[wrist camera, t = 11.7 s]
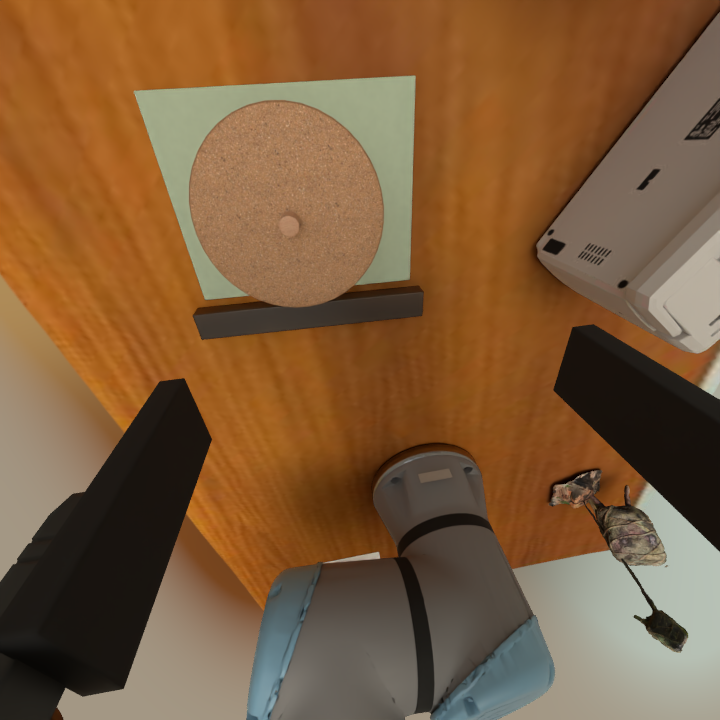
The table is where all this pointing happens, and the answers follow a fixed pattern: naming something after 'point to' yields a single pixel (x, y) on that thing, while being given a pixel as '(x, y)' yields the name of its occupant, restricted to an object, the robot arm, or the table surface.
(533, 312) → the table surface
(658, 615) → the plant with pod
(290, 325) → the divider
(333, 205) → the trinket box
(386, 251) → the mat
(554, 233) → the radio
